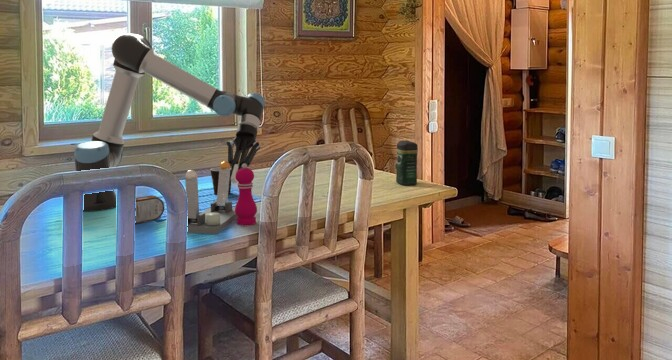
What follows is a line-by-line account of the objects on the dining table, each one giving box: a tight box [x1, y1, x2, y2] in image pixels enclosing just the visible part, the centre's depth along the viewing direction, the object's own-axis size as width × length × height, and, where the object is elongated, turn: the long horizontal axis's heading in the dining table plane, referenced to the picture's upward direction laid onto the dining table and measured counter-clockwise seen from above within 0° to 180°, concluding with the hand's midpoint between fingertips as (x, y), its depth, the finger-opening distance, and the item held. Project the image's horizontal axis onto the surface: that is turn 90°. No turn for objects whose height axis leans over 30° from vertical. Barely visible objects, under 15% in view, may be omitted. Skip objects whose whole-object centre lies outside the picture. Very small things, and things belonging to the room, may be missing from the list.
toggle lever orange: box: [216, 160, 231, 211], centre depth 209 cm, size 4×4×17 cm
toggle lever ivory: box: [184, 169, 200, 223], centre depth 191 cm, size 4×4×17 cm
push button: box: [206, 213, 220, 225], centre depth 191 cm, size 4×4×3 cm
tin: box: [135, 195, 165, 224], centre depth 202 cm, size 15×3×8 cm, turn 133°
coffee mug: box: [210, 166, 232, 196], centre depth 244 cm, size 12×9×10 cm
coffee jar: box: [395, 140, 419, 186], centre depth 259 cm, size 10×8×19 cm
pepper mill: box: [235, 163, 258, 226], centre depth 198 cm, size 7×7×20 cm
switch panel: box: [187, 200, 238, 235], centre depth 201 cm, size 12×26×5 cm, turn 170°
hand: (233, 181), depth 217 cm, fingers closed
